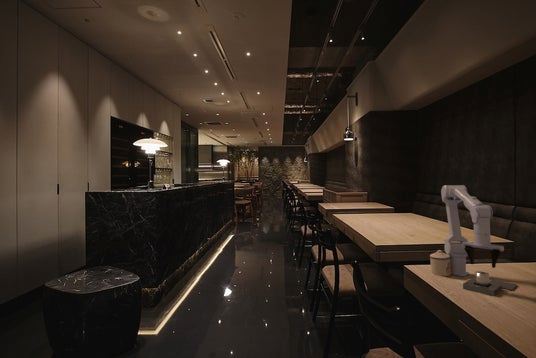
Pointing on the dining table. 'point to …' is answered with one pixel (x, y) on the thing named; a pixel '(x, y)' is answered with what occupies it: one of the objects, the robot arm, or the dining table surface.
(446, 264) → the teacup with lid
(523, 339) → the dining table surface
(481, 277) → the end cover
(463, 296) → the dining table surface
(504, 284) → the rubber mat
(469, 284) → the block
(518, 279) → the dining table surface
